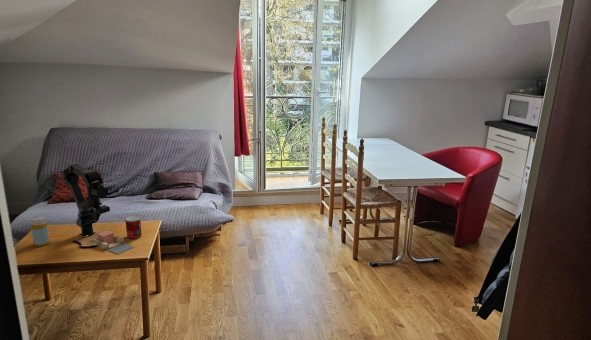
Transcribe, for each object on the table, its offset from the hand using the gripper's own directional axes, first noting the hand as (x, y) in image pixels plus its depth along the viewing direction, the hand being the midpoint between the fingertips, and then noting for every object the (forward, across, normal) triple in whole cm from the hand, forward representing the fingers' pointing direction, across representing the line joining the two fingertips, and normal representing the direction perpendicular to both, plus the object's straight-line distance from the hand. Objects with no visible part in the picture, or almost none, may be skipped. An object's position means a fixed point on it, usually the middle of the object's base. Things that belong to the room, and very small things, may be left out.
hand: (96, 221), depth 223 cm
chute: (+11, +9, 0) cm, 14 cm away
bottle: (+11, -20, -20) cm, 30 cm away
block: (+11, +7, 0) cm, 13 cm away
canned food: (+11, +12, +14) cm, 22 cm away
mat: (+11, +20, 0) cm, 23 cm away
